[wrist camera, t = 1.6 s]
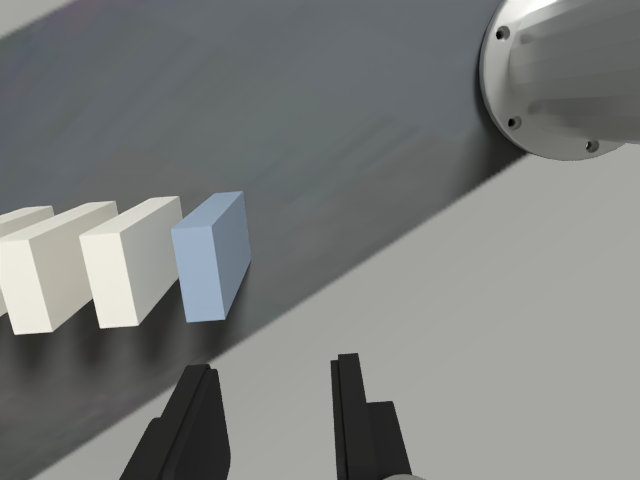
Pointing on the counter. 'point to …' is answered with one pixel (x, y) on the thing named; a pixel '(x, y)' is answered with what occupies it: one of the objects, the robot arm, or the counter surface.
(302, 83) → the counter surface
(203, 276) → the domino
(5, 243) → the domino
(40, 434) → the counter surface
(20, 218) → the domino
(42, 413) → the counter surface
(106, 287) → the domino
